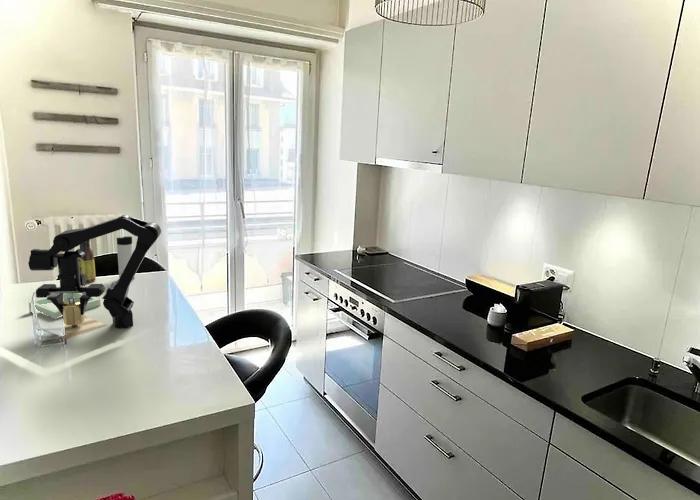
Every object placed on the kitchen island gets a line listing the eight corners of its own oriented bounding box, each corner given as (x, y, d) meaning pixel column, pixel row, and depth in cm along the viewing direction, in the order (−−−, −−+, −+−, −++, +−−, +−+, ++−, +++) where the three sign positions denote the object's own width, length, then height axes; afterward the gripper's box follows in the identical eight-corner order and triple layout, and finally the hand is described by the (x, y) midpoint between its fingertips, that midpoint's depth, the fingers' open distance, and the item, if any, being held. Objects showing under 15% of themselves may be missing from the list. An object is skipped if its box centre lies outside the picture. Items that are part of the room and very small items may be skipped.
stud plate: (107, 328, 154) (106, 313, 153) (66, 343, 142) (64, 327, 141) (83, 319, 160) (81, 304, 159) (41, 332, 148) (39, 317, 147)
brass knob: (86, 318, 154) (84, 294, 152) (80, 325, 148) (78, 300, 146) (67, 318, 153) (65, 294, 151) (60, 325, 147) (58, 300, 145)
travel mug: (124, 282, 200) (121, 238, 195) (116, 278, 204) (113, 235, 199) (137, 279, 205) (135, 236, 200) (130, 276, 209) (127, 234, 204)
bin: (100, 309, 170) (100, 299, 169) (55, 323, 156) (54, 312, 155) (74, 299, 178) (73, 290, 177) (29, 312, 163) (28, 302, 162)
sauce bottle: (80, 279, 200) (76, 236, 195) (96, 278, 203) (93, 235, 198) (78, 284, 194) (74, 239, 190) (95, 283, 197) (91, 238, 192)
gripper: (108, 263, 156) (111, 305, 159) (47, 262, 152) (52, 306, 156) (97, 272, 145) (101, 317, 149) (32, 272, 141) (37, 319, 145)
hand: (73, 314), depth 150 cm, fingers closed on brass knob, 5 cm apart
